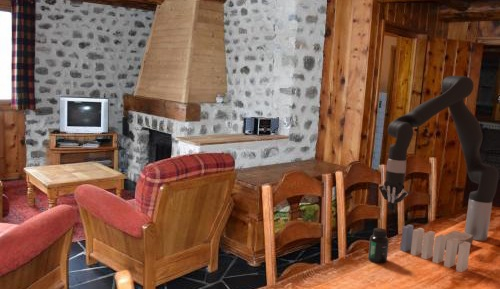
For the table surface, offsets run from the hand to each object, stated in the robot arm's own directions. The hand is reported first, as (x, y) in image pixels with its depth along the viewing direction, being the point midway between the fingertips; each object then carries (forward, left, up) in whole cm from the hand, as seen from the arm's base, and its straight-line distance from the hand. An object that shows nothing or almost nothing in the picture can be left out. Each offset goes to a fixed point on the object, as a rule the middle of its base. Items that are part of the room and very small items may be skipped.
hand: (391, 210), depth 186 cm
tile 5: (0, +26, -14) cm, 30 cm away
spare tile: (0, +8, -14) cm, 16 cm away
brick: (-22, +18, -15) cm, 32 cm away
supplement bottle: (+19, +7, -15) cm, 25 cm away
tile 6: (0, +31, -14) cm, 34 cm away
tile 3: (0, +17, -14) cm, 22 cm away
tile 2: (0, +13, -14) cm, 19 cm away
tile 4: (0, +22, -14) cm, 26 cm away
